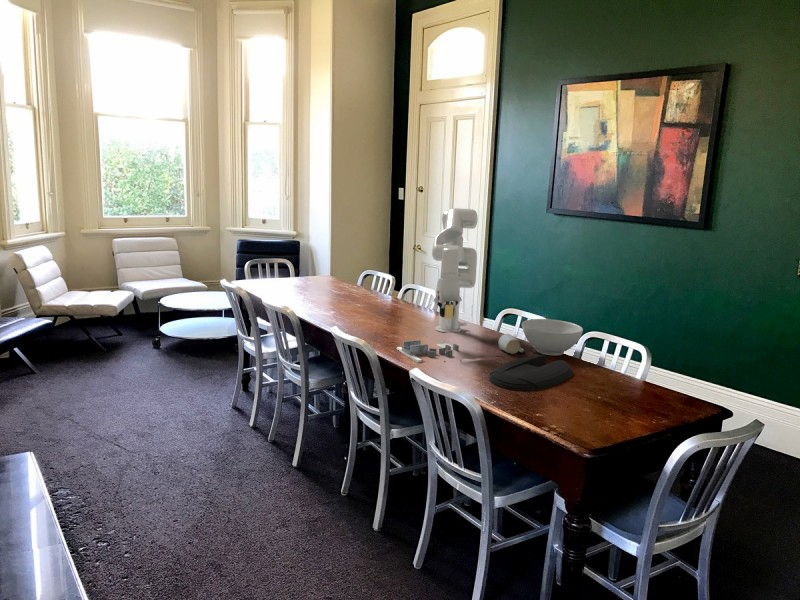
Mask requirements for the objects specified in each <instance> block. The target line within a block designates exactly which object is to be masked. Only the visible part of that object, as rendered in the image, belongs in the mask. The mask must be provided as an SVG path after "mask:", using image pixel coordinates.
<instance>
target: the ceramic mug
mask: <svg viewBox="0 0 800 600" xmlns="http://www.w3.org/2000/svg"><path fill="white" fill-rule="evenodd" d="M498 348H500V349H501V350H503V351H504V352H506V353H507V354H509V355H516V354H517V353H518V352H520V353H523V352H524V351H525V349H524V348H523V347H521V343H520V341H519V340H518V338H516V337H515V336H513V335H512V334H510V333H504V334H501V336H500V337H499V339H498Z"/></svg>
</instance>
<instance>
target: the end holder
mask: <svg viewBox="0 0 800 600" xmlns="http://www.w3.org/2000/svg"><path fill="white" fill-rule="evenodd" d="M401 347H402V351H404V352H405V353H407V354H408V355H415V356H417V355H428V351H429V344H426V343H425V344H424V343H423V344H421V340H420V339H415V340H414V339H413V340H403V341H402V346H401Z"/></svg>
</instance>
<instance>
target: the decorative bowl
mask: <svg viewBox="0 0 800 600" xmlns="http://www.w3.org/2000/svg"><path fill="white" fill-rule="evenodd" d="M521 327H522V332H523V335H524V337H525V338H526V340H527V342H528V344H530V345H531V346H532V347H533V348H534V349H535V351H536V352H537V353H538V354H541V355H544V356H561V355H563V354H565V352H566V351H568V350H570V349H571V348H573V347H574V346H575V345H576V344H577V343H578V341H579V340H580V338H581V337H582V335H583V331H584V329H583V327H582V326H581V325H578V324H575V323H573V322H570V321H569V322H568V321H564V320H558V319H549V318H532V319H526V320H524V321H522V323H521Z"/></svg>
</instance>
